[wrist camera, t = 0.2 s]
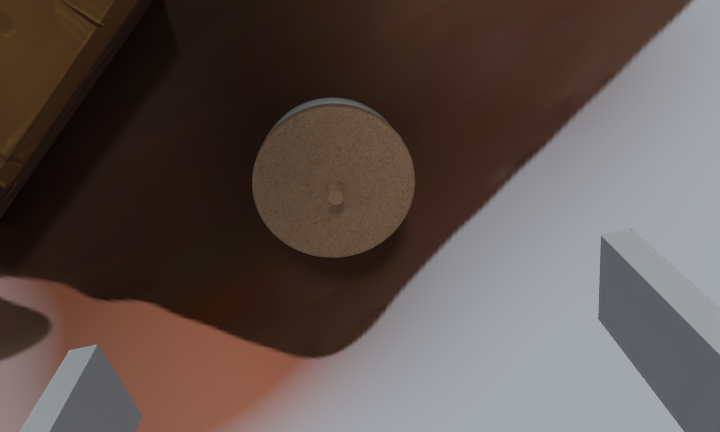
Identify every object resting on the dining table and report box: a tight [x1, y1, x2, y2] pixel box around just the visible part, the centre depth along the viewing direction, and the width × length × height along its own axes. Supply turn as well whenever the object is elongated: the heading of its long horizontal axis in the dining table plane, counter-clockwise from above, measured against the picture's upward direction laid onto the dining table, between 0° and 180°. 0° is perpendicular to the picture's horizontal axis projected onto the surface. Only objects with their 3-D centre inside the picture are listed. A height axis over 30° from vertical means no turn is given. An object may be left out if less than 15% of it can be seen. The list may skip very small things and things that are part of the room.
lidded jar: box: [252, 97, 415, 258], centre depth 35 cm, size 11×11×9 cm
